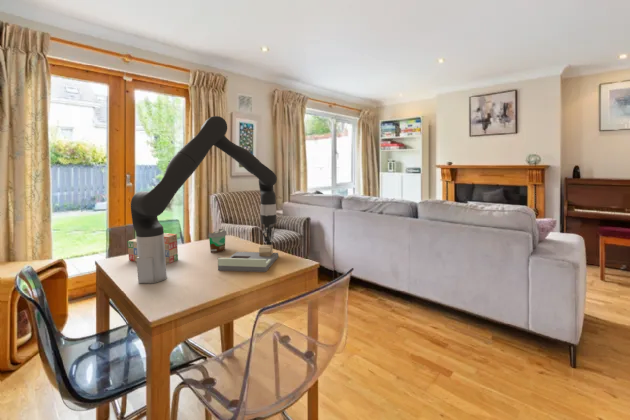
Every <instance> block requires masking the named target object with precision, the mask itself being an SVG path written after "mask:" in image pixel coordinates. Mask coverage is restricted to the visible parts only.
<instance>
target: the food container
mask: <svg viewBox="0 0 630 420" xmlns="http://www.w3.org/2000/svg"><path fill="white" fill-rule="evenodd" d="M227 235H228V234H227V230H226V229H223V228H219V229H218V230H217V231H214V232H208V239H209V251H210V253H211V254H213V253H216V254H217V253H222V252H224V251H225V250H226V236H227Z"/></svg>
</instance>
